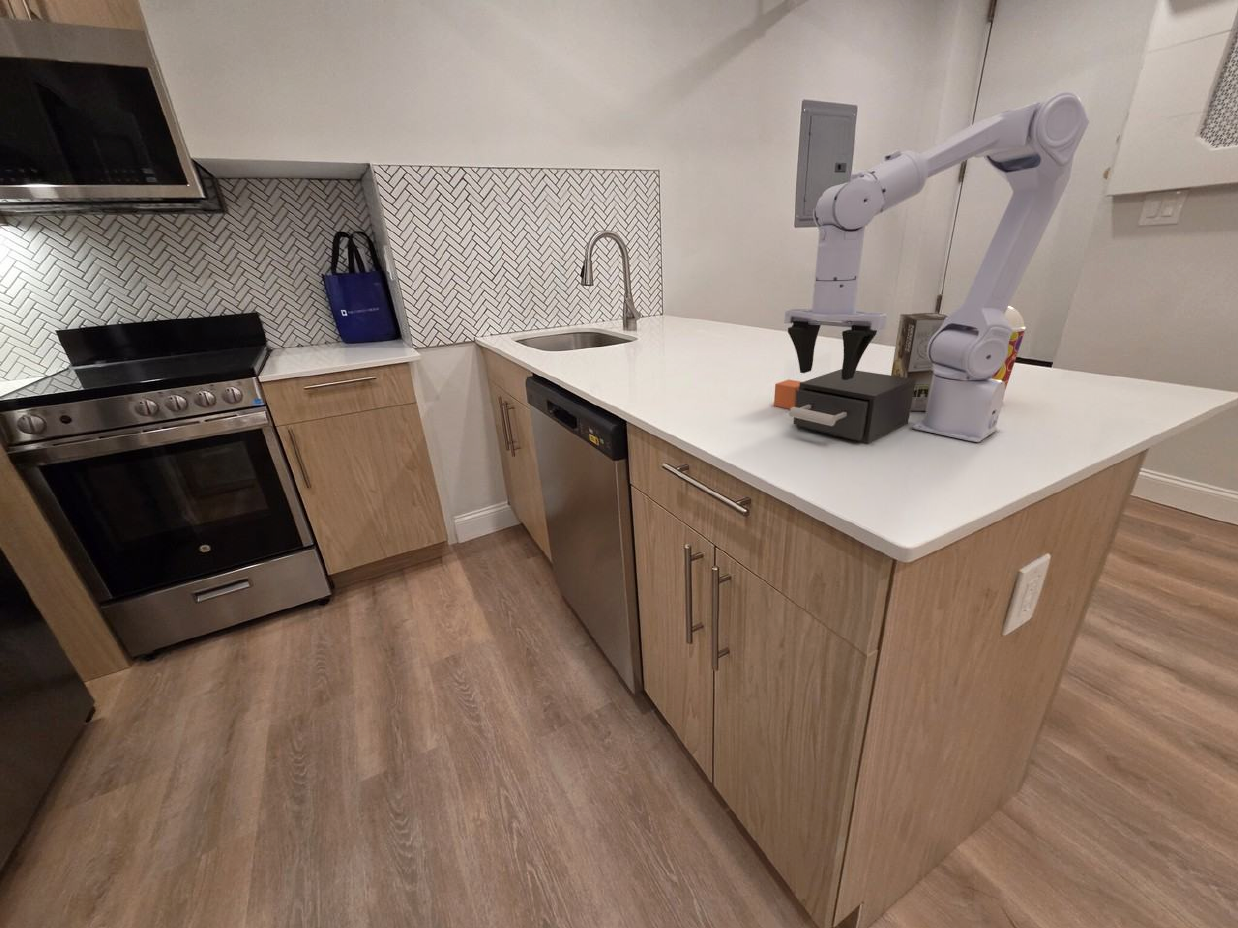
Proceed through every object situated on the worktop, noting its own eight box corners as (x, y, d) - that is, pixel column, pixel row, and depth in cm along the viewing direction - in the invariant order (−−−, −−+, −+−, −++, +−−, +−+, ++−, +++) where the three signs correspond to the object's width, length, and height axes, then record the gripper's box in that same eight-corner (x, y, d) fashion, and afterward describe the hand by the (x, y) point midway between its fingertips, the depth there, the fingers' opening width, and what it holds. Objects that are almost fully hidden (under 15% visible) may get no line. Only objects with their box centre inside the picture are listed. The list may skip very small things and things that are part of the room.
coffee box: (939, 411, 89) (958, 318, 83) (900, 411, 91) (916, 319, 84) (922, 397, 98) (938, 311, 91) (886, 397, 99) (899, 312, 93)
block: (806, 405, 97) (808, 382, 95) (793, 410, 95) (795, 387, 93) (786, 401, 100) (788, 379, 99) (773, 405, 98) (775, 383, 96)
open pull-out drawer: (841, 449, 73) (846, 411, 71) (775, 431, 82) (777, 397, 80) (897, 421, 83) (903, 387, 81) (833, 408, 92) (837, 376, 89)
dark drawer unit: (867, 444, 77) (875, 396, 74) (795, 426, 86) (799, 382, 83) (908, 423, 85) (916, 379, 82) (837, 408, 94) (842, 368, 91)
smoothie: (944, 396, 98) (966, 287, 90) (991, 395, 97) (1018, 285, 89) (965, 408, 90) (991, 291, 82) (1016, 408, 89) (1048, 289, 81)
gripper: (775, 281, 74) (769, 373, 79) (873, 282, 63) (858, 388, 68) (802, 278, 78) (795, 365, 83) (899, 278, 67) (884, 378, 72)
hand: (825, 375), depth 76 cm, fingers open, 6 cm apart
